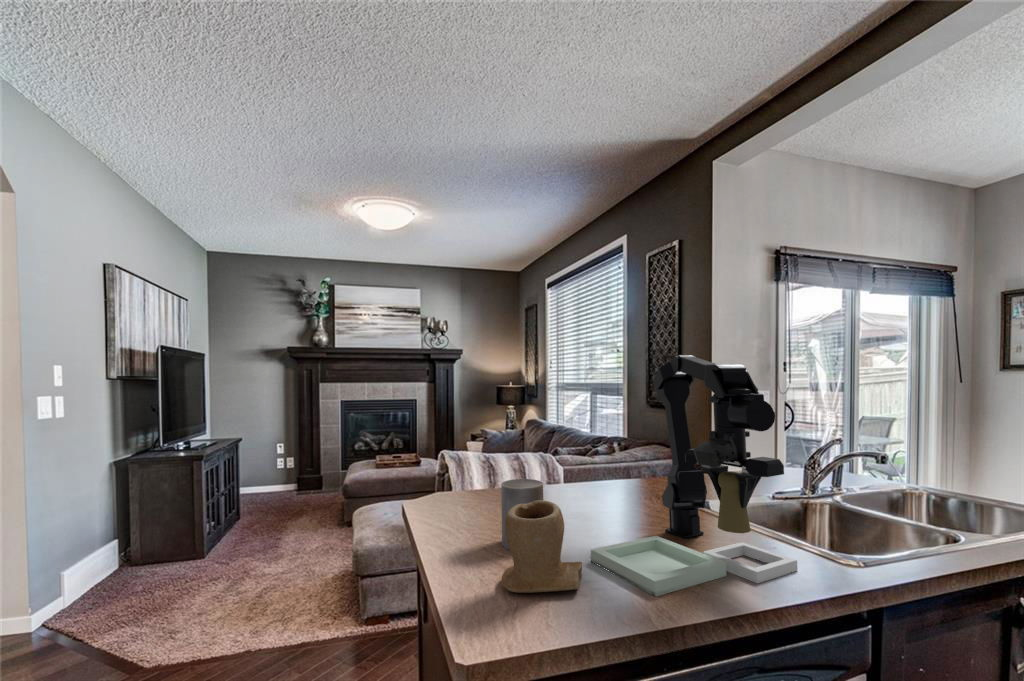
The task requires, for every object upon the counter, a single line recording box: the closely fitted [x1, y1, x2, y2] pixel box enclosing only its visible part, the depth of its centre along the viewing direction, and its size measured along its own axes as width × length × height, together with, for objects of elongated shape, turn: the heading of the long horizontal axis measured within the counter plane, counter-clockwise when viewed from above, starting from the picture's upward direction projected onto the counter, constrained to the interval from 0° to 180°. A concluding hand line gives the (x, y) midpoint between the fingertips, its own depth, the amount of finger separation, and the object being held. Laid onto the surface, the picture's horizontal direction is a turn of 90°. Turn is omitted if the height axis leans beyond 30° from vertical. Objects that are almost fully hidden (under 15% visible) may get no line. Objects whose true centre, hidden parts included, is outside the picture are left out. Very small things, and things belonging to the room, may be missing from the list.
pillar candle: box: [500, 477, 544, 551], centre depth 110 cm, size 10×10×15 cm
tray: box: [590, 535, 727, 597], centre depth 95 cm, size 18×18×2 cm
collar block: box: [702, 541, 798, 584], centre depth 96 cm, size 12×12×2 cm
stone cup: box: [501, 500, 583, 594], centre depth 87 cm, size 15×12×15 cm
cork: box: [717, 470, 752, 534], centre depth 96 cm, size 6×6×11 cm
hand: (732, 505), depth 96 cm, fingers closed on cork, 4 cm apart
